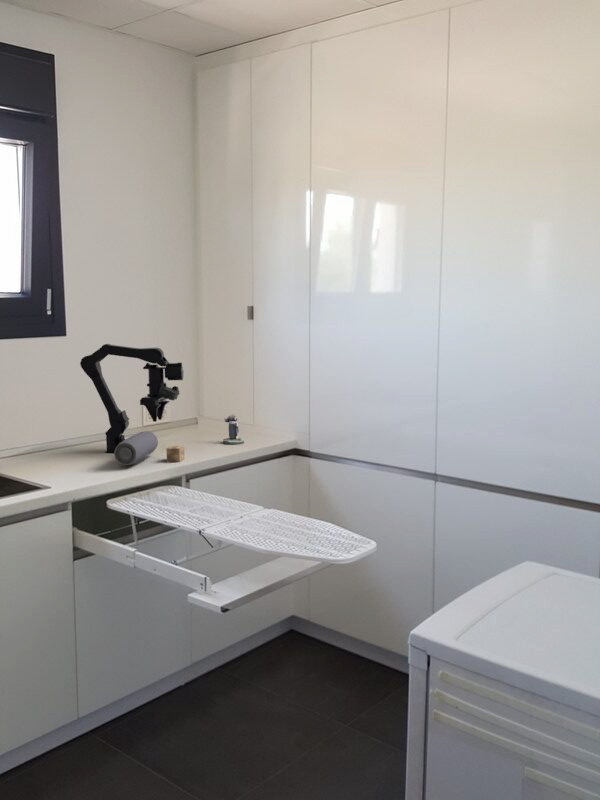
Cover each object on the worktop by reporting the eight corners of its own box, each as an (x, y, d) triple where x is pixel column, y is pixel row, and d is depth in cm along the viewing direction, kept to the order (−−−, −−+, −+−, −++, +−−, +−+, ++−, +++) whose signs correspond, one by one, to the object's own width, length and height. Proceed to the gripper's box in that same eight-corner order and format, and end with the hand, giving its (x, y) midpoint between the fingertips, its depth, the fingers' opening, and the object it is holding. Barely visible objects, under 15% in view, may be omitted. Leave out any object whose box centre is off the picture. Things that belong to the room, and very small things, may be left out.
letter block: (166, 461, 292) (166, 448, 291) (171, 459, 296) (171, 445, 296) (179, 462, 291) (179, 448, 290) (184, 459, 295) (184, 445, 295)
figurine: (229, 445, 320) (228, 416, 318) (219, 442, 327) (218, 413, 325) (247, 443, 325) (247, 414, 323) (237, 440, 332) (237, 411, 330)
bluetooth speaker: (136, 455, 303) (135, 429, 302) (159, 455, 302) (158, 429, 300) (112, 468, 281) (111, 440, 280) (138, 469, 280) (137, 441, 278)
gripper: (166, 383, 296) (168, 425, 298) (184, 378, 314) (185, 417, 316) (138, 383, 299) (140, 424, 301) (158, 377, 317) (159, 416, 319)
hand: (157, 420), depth 309 cm, fingers open, 5 cm apart
